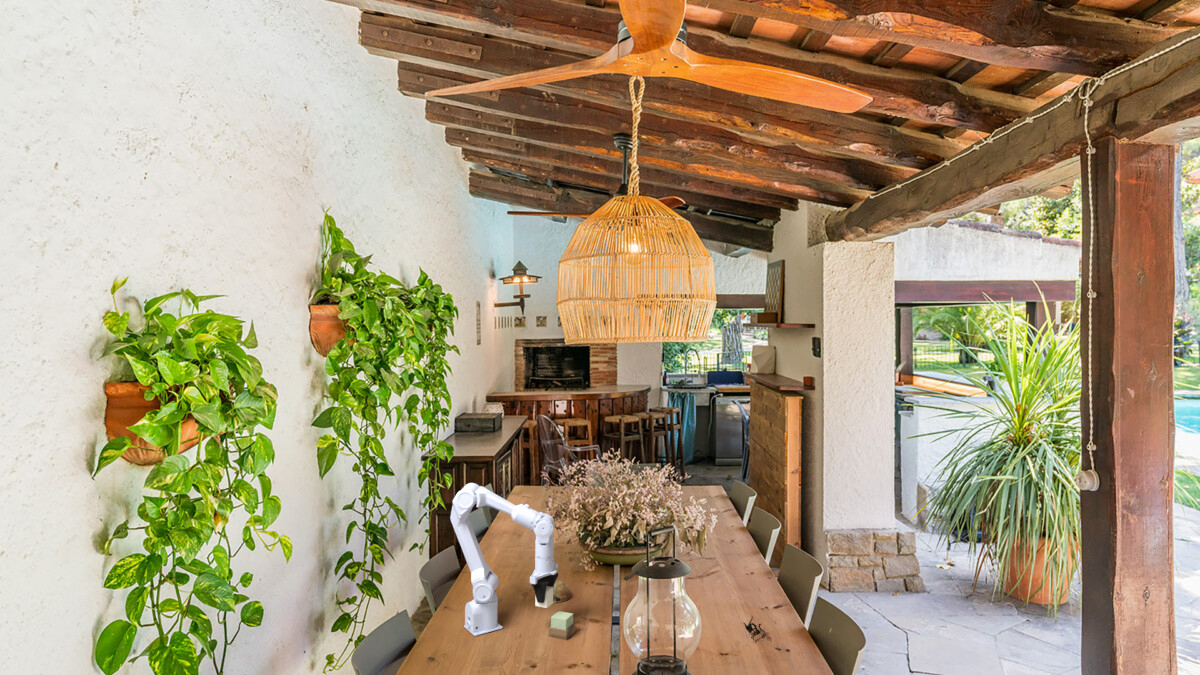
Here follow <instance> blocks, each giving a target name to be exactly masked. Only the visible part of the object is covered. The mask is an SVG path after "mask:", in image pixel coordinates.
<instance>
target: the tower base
mask: <svg viewBox="0 0 1200 675" xmlns="http://www.w3.org/2000/svg"><path fill="white" fill-rule="evenodd" d="M575 633H576V623H575V622H573V624H572V625H571V626H570V627H569V628H568V629H567V630H562V629H557V628H552V627H551V625H550V626H548V637H550V638H555V639H558V640H564V641H567V640H568V639H570V638H571V637H572V636H573V635H574V634H575ZM571 635H572V636H571ZM570 636H571V637H570Z"/></svg>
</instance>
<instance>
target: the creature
mask: <svg viewBox="0 0 1200 675" xmlns="http://www.w3.org/2000/svg"><path fill="white" fill-rule="evenodd" d="M752 621H753V615H752V616H751V619H750V620H749V623H748V624H747V623H746V622H743V624H744V627H745V629H746V631H747V632H748V633H749V636H750V635H751V636H752V640H753V641H755V638H754V637H755V633H756V634H757V635H760V634H761V633H762V637H766V638H767V639H769V638H770V636H769V635H767V633H766V631H765V629H762V627H761V625H762V623H759V624H758V625H756V624H755V623H754V622H752ZM752 632H753V634H752ZM750 633H751V634H750Z"/></svg>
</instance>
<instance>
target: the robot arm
mask: <svg viewBox="0 0 1200 675" xmlns="http://www.w3.org/2000/svg"><path fill="white" fill-rule="evenodd" d="M475 505H476V508H481V507H485V506H488V507H491V508H493V509H495V510H497V511H500V512H502V513H505V514H507V515H508V516H510V517H511V520H512V521H513V522H514V523H516V524H518V525H520V526H522V527H524V528H526V529H528V530H531V531H533V532H534V534H535V540H534V543H535V544H534V546H535V547H534V563H535V564H534V570H533V572H532V574H531V575H530V576H529V584H530V585H531V587H532V588H533V591H534V595H536V599H537V602H539V603H544V601H545V593H546V588H547V586H550V587H553V588H554V584H555V581H556V579H558V577H559V573H558V570H559V563H558V562H555V561H554V560H555V559H554V558H555V557H554V553H555V540H554V528H555V520H554V518H553V516H552V515H550V514H549V513H547V512H546V513H544V512H542V511H538V510H535V509H533V508H531V507H530V505H529V504H528V503H525V504H523V503H520V504H517V505H515V504H514V503H512V502H511V501H509V500H507V499H505V498H504V497H502V496H500V495H498V494H496V493H494V492H492V491H491V490H489V489H487V487H484V486H482V485H479V484H477V483H474V482H469V483H467V484H465V485H464V486H463V487H462V488H461V490H459V491H458V492H457V493H456V495H455V496H454V498H453V499H452V506H451V511H450V522H451V524H452V527H453V531H454V533H455V535H456V538H457V540H458V543H459V546H460V547H461V551H462V553H463V556H464V558H465V560H466V564H467V566H468V568H469V571H470V582H471V584H472V596H473V599H472V600H471V601H469V602H468V601H467V602H466V603H465V607H464V625H463V627H464V629H465V630H467V631H468V632H469V633H470V634H472V635H473V636H474V637H477V636H480V635H484V634H487V633H490V632H494V631H498V630H501V629H503V626H502V625H501V624H500V623H499V622H498V594H497V593H496V589H497V588H498V586H499V582H500V581H499V578H498V576H497V574H496V573H494V572H493V570H492V569H491V566H490V565H488V564H487V562H486V560H485V557H484V554H483V552H482V549H481V546H480V544H479V542H478V539H477V537H476V534H475V531H474V528H473V526H472V523H471V521H470V519H469V516H470V515H471V513H472V510H473V508H474V507H475Z"/></svg>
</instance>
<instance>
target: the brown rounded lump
mask: <svg viewBox="0 0 1200 675" xmlns="http://www.w3.org/2000/svg"><path fill="white" fill-rule="evenodd" d="M570 592H571V591H570V588H569V585H568V584H567V583H565V582H564V581H563V580H561V579H558V578H557V579H556V581H555V584H554V588H553V604H556V602H558V603H563V602H565V601H568V600H569V598H570V596H571V595H570V594H571V593H570Z"/></svg>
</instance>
